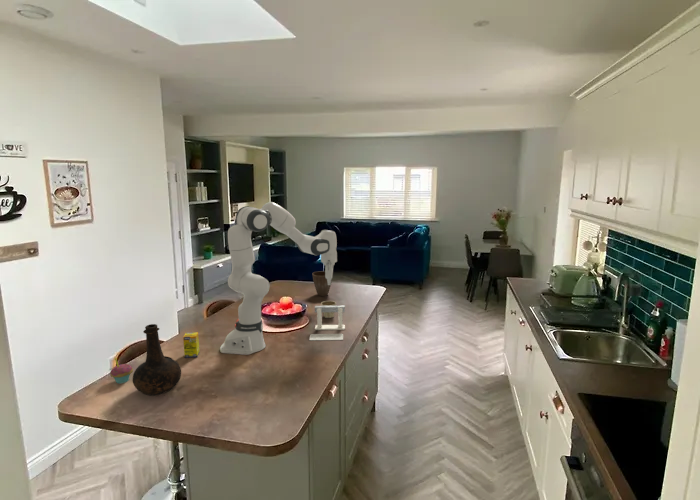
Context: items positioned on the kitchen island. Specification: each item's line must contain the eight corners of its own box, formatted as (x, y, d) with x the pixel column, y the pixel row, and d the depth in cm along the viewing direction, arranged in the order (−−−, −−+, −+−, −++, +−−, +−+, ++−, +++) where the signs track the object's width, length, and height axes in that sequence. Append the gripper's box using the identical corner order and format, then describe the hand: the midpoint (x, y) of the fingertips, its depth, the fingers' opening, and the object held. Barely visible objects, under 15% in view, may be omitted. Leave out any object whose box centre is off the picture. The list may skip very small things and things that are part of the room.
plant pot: (325, 290, 316) (324, 270, 313) (337, 294, 305) (336, 273, 302) (308, 294, 307) (308, 273, 304) (320, 298, 295) (320, 277, 293)
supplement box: (184, 358, 200) (182, 337, 198) (187, 353, 206) (185, 332, 204) (197, 357, 201) (195, 336, 199) (199, 352, 207) (198, 331, 205)
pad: (309, 340, 221) (309, 339, 221) (310, 334, 229) (310, 334, 229) (343, 340, 221) (343, 339, 221) (343, 334, 229) (343, 333, 229)
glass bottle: (190, 381, 178) (185, 319, 173) (163, 403, 161) (156, 335, 156) (154, 377, 182) (148, 316, 177) (124, 398, 165) (116, 331, 160)
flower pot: (318, 317, 256) (318, 304, 255) (325, 313, 265) (324, 300, 263) (332, 319, 253) (332, 306, 251) (338, 315, 261) (338, 301, 260)
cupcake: (118, 387, 173) (115, 360, 171) (107, 382, 177) (103, 356, 175) (137, 379, 180) (135, 353, 178) (126, 374, 185) (123, 349, 182)
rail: (314, 312, 236) (314, 307, 235) (315, 310, 239) (315, 305, 238) (344, 312, 236) (344, 307, 235) (344, 310, 239) (344, 305, 238)
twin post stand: (315, 330, 236) (314, 309, 234) (315, 326, 242) (315, 305, 240) (344, 329, 236) (344, 308, 234) (344, 326, 242) (344, 305, 240)
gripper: (334, 262, 221) (334, 287, 224) (335, 255, 242) (335, 278, 244) (322, 262, 221) (323, 287, 224) (324, 255, 241) (324, 278, 244)
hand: (329, 282), depth 234 cm, fingers open, 8 cm apart
